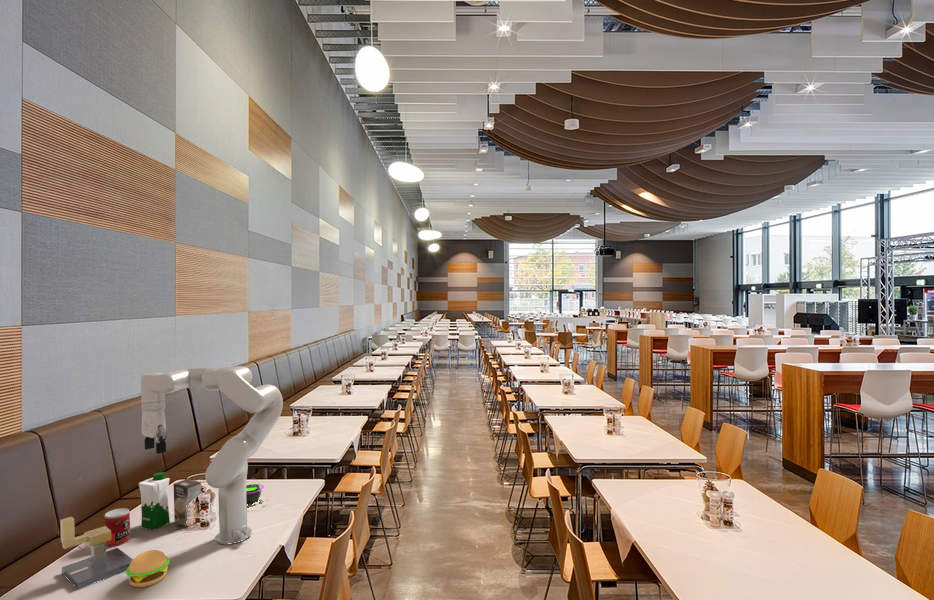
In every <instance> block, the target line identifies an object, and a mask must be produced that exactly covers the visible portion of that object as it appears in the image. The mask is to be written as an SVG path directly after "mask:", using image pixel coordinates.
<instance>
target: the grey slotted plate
mask: <svg viewBox="0 0 934 600" xmlns="http://www.w3.org/2000/svg"><path fill="white" fill-rule="evenodd" d="M106 546H107V545H106V542H103V543H100V544H97V545H94V546H91V547H90V556H89V557H88V558H85V559H82V560H79V561H76V562H74V563H70V564H67V565H64V566H62V567H61V574H62V573H63V574H64V575H65V576H66V577H67V578H68V579H69V580H70V581H71V582H72V583H71V582H70V581H69V580H68V579H67V578H66V577H65V576H64V575H63V574H62V575H63V576H64V577H65V578H66V579H67V580H68V581H69V582H70V583H71V584H72V585H73V584H74V585H75V586H74V585H73V586H74V587H75V589H77V590H80V589H79V588H81V589H83V588H85V587H84V586H86V587H88V586H87V585H89V586H90V584H91V585H93V584H92V583H94V582H96V583H98V582H97V581H99V582H101V581H104V580H106V579H108V578H111V577H114V576H117V575H118V574H122V573H123V572H124V573H125V572H126V569H127V568H128V567H129V565H130V563H131V561H132V560H133V559H134V558H132V557H131V556H130V555H128V554H126V553H125V552H124V551H122V550H121V549H120V548H119V547H115V548H113V549H109V550H106V549H107V547H106ZM103 579H104V580H103ZM100 580H101V581H100ZM94 584H95V583H94ZM82 587H83V588H82Z"/></svg>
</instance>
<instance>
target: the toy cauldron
mask: <svg viewBox="0 0 934 600" xmlns="http://www.w3.org/2000/svg"><path fill="white" fill-rule="evenodd" d="M253 481H258V480H256V479H253V480H252V482H253ZM247 482H250V480H248V478H246V483H247ZM264 488H265V485H263V484H260V483H252V484H246V502H247V504H248V506H247V508H249V507H253V506H256V505H258V504H254V505H252V504H253V503H255V502H258V500H259V498H261V495H262V492H263V491H264V490H263V489H264ZM259 501H260V502H259V504H262V503H263V502H264V501H263V500H262V499H260V500H259Z"/></svg>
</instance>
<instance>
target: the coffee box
mask: <svg viewBox="0 0 934 600" xmlns="http://www.w3.org/2000/svg"><path fill="white" fill-rule="evenodd" d="M199 494H201V495H202V483H201V481H197V480H194V479H191V478H186V479H184V480H183V479H182V480H180V481H178V482H174V483H173V511H174V514H173V515H174V516H173V517H174V518H173V519H174V524H177V523H179V524H178V525H180V524H182V525H181V526H183V525H185V524H186V521H187V512H186V505H187V507H188V505H189V503H190V502H191V501H192V500H193V499H195V498H197V497H198V496H199Z"/></svg>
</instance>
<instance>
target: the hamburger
mask: <svg viewBox="0 0 934 600" xmlns="http://www.w3.org/2000/svg"><path fill="white" fill-rule="evenodd" d="M132 559H133V560H132V561H131V563H130V565H129V567H128V568H127V569H126V571H125V574H126V575H127V576H129V584H130V585H131V587H135V588H145V587H149V586H153V585H155V584H157V583H159V582H161V581H162V580H163V579H164V578H165V577H166V576H167V572H168V570H169V569H168V567H169V564H170V559H169V557H168V556H167V555H166V554H165V553H164V552H163V551H160V550H158V549H151V550H146V551H143V552H141V553H139V554H137V555H136V556H135V557H134V558H132Z"/></svg>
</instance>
